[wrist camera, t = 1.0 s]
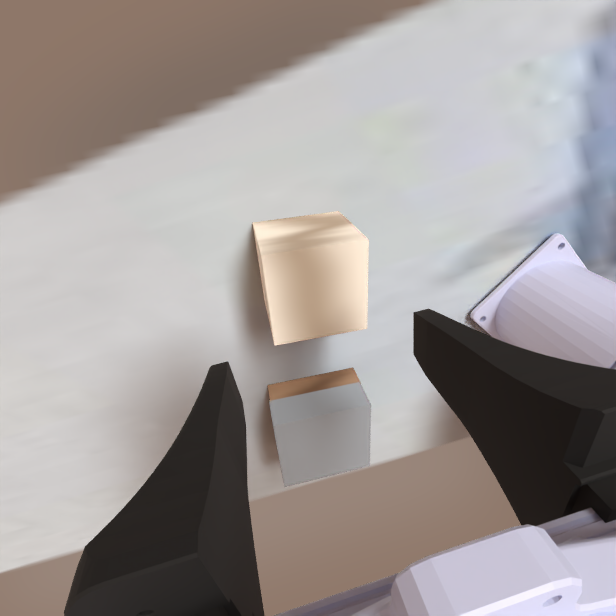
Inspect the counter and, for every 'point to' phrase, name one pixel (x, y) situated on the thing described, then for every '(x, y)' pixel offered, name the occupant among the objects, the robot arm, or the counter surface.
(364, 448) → the tower top block
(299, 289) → the ash cube
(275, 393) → the tower base block
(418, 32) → the counter surface
